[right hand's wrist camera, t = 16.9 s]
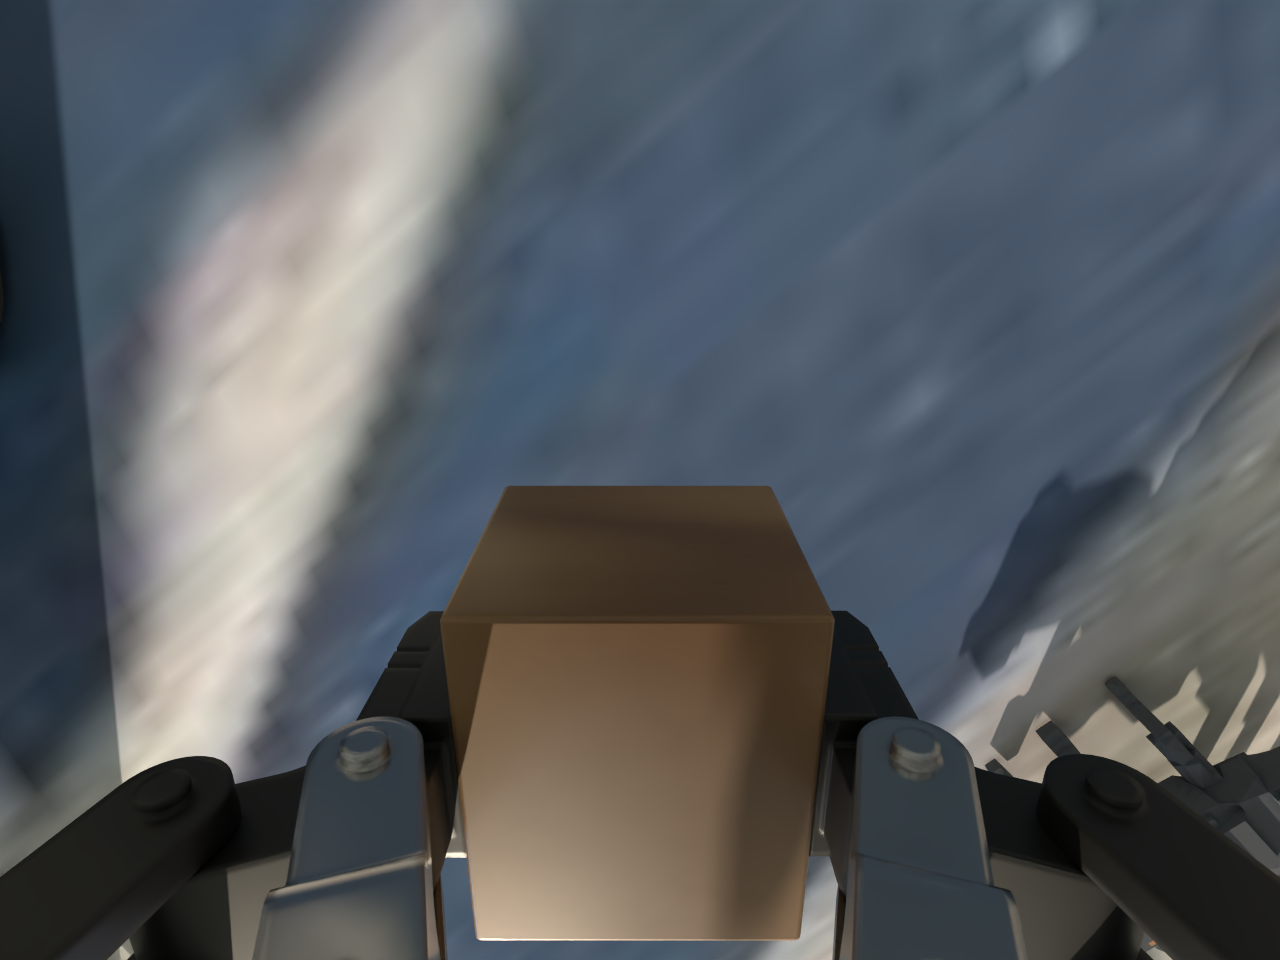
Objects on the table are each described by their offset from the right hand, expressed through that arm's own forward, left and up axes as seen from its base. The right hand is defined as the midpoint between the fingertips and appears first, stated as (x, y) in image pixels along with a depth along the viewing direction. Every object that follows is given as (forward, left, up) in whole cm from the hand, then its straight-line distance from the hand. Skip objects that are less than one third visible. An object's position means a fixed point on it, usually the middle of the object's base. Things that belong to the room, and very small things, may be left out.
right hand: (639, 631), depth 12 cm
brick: (0, 0, -1) cm, 1 cm away
